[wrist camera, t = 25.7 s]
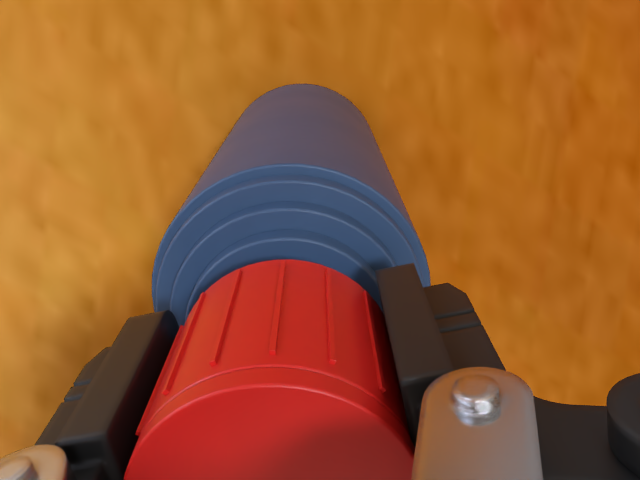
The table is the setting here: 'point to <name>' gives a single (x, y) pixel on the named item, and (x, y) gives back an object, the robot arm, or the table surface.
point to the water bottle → (289, 201)
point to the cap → (277, 385)
